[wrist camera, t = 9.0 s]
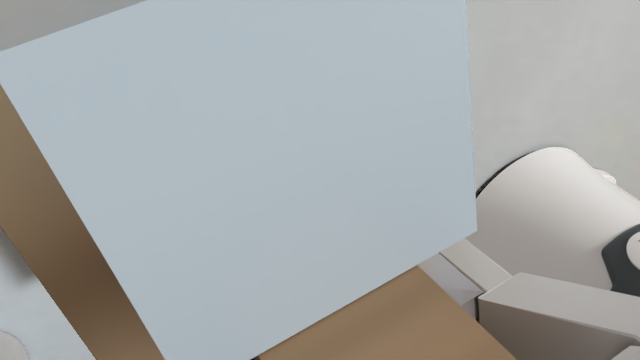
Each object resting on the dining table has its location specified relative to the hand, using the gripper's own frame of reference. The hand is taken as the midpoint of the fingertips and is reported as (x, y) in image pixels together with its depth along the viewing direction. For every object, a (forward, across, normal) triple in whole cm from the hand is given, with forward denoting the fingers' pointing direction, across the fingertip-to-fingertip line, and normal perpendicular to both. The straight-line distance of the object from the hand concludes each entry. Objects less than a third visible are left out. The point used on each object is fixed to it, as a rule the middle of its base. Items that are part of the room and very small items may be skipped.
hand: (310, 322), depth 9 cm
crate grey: (+2, 0, -4) cm, 5 cm away
